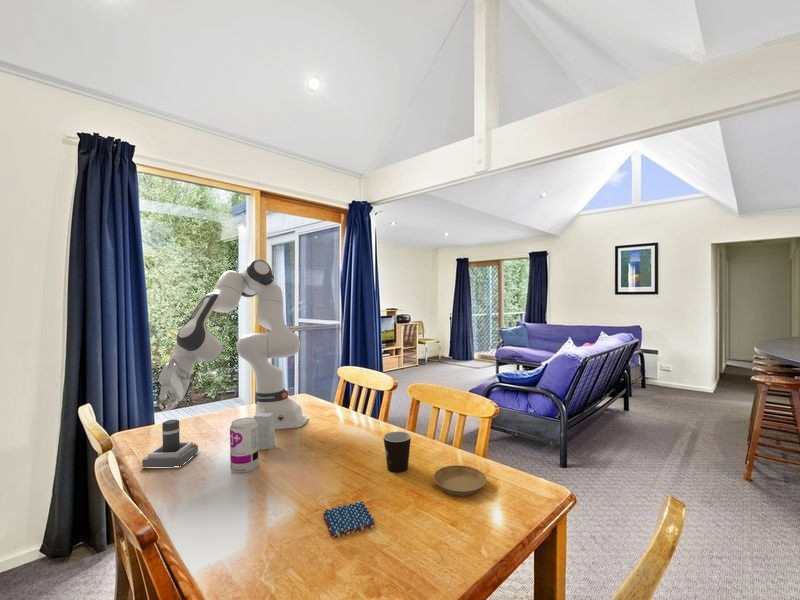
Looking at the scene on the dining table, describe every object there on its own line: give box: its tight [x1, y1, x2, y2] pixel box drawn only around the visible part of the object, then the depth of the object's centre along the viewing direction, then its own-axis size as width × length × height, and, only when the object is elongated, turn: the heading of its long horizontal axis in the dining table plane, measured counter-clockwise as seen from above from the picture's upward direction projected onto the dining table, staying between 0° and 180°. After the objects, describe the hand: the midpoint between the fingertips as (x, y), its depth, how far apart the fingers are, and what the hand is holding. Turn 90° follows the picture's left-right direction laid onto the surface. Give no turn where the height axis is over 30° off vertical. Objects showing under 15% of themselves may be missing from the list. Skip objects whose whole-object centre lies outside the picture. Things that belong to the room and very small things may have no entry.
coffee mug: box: [383, 431, 412, 474], centre depth 118 cm, size 12×9×10 cm
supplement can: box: [229, 417, 260, 474], centre depth 119 cm, size 8×8×15 cm
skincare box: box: [253, 413, 276, 451], centre depth 135 cm, size 6×4×12 cm
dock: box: [141, 441, 199, 467], centre depth 125 cm, size 12×11×4 cm
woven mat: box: [322, 500, 375, 539], centre depth 90 cm, size 10×11×2 cm
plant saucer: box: [433, 464, 487, 497], centre depth 106 cm, size 15×15×3 cm
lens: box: [161, 418, 181, 453], centre depth 125 cm, size 5×5×10 cm
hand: (165, 404), depth 132 cm, fingers open, 8 cm apart
